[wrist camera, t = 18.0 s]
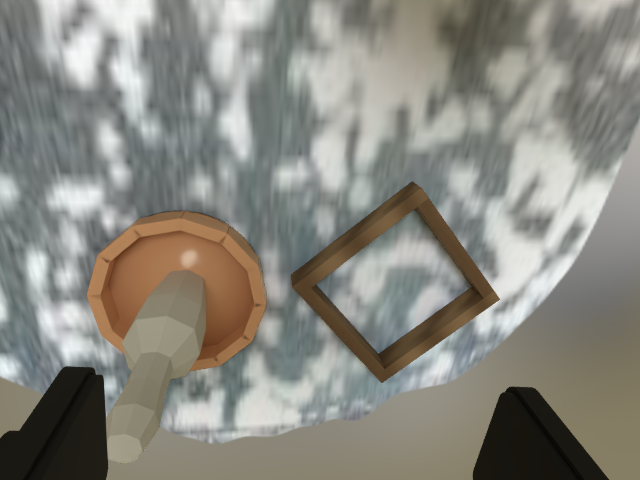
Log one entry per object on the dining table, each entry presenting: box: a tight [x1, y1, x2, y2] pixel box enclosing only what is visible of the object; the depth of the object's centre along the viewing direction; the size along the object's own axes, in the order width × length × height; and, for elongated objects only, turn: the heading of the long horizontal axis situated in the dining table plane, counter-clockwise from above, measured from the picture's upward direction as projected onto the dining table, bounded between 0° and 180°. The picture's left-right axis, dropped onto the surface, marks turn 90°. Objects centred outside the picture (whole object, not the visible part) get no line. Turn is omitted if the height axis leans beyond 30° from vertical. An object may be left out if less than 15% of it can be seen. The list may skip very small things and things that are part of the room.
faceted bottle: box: [106, 270, 206, 463], centre depth 37 cm, size 6×6×22 cm
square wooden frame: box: [291, 182, 500, 383], centre depth 50 cm, size 17×17×3 cm
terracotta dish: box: [87, 211, 266, 371], centre depth 47 cm, size 17×17×4 cm
